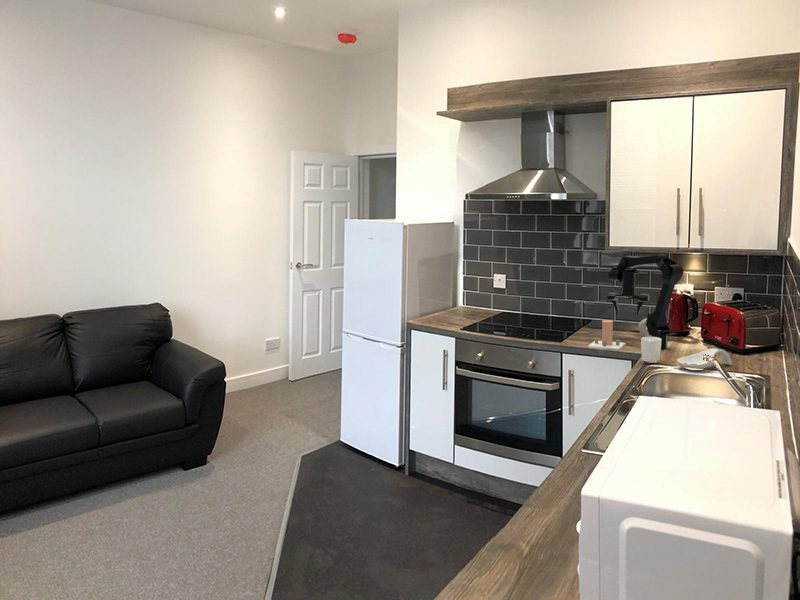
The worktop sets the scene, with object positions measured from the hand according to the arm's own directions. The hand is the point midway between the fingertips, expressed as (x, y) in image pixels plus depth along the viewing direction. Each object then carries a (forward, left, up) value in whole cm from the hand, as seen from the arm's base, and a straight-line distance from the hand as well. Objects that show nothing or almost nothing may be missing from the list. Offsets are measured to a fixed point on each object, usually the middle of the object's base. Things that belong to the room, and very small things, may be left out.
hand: (627, 314), depth 299 cm
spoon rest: (-38, +40, -14) cm, 56 cm away
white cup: (-17, +39, -13) cm, 45 cm away
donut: (-8, -12, -13) cm, 20 cm away
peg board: (+6, +15, -13) cm, 21 cm away
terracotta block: (+6, +15, -12) cm, 20 cm away
